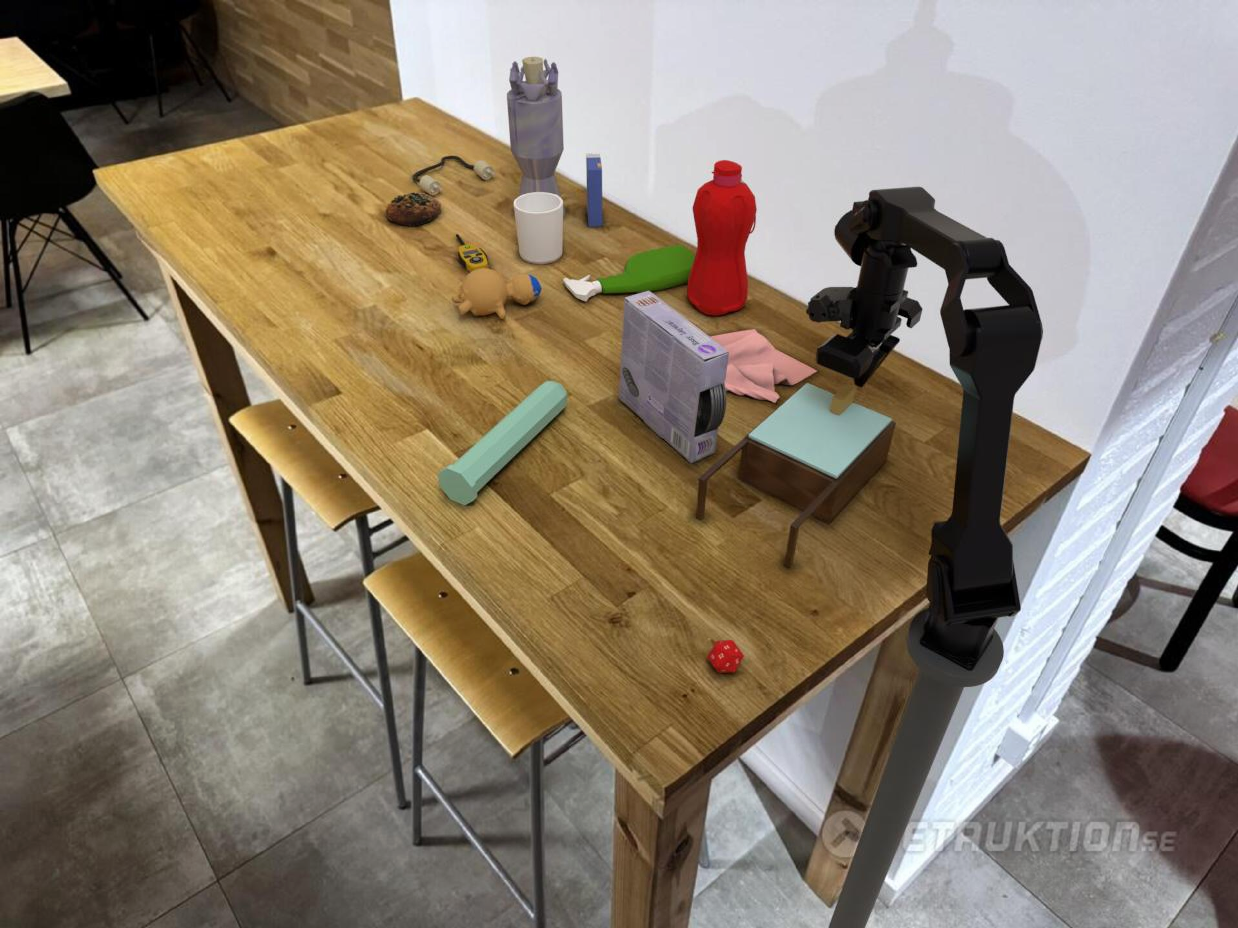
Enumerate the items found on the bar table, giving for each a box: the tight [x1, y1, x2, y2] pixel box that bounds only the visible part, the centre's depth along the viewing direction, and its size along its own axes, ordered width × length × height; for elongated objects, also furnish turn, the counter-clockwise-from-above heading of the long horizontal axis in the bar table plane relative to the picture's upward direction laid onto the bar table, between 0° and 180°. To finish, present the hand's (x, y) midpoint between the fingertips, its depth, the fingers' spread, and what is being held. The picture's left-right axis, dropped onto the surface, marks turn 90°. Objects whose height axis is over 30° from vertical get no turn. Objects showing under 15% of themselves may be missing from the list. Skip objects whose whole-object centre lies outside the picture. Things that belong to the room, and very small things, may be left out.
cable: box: [412, 155, 495, 196], centre depth 198 cm, size 16×16×4 cm
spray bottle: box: [562, 244, 696, 302], centre depth 165 cm, size 3×11×24 cm
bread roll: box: [385, 191, 442, 228], centre depth 185 cm, size 11×11×5 cm
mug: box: [513, 192, 564, 265], centre depth 171 cm, size 11×9×10 cm
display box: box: [695, 383, 897, 569], centre depth 121 cm, size 14×26×7 cm, turn 141°
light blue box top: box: [748, 382, 893, 479], centre depth 121 cm, size 13×15×3 cm
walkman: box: [585, 153, 603, 228], centre depth 181 cm, size 8×3×12 cm, turn 4°
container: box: [437, 380, 568, 506], centre depth 128 cm, size 6×6×25 cm
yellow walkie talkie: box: [455, 233, 489, 273], centre depth 172 cm, size 5×2×15 cm
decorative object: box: [506, 56, 567, 217], centre depth 177 cm, size 10×10×30 cm
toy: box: [451, 268, 543, 320], centre depth 156 cm, size 10×8×15 cm
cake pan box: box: [618, 291, 729, 464], centre depth 128 cm, size 19×5×18 cm, turn 34°
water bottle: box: [686, 159, 758, 317], centre depth 152 cm, size 9×11×25 cm
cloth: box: [708, 328, 818, 404], centre depth 145 cm, size 20×22×2 cm
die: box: [706, 639, 745, 674], centre depth 101 cm, size 4×3×4 cm
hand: (859, 385), depth 127 cm, fingers closed
